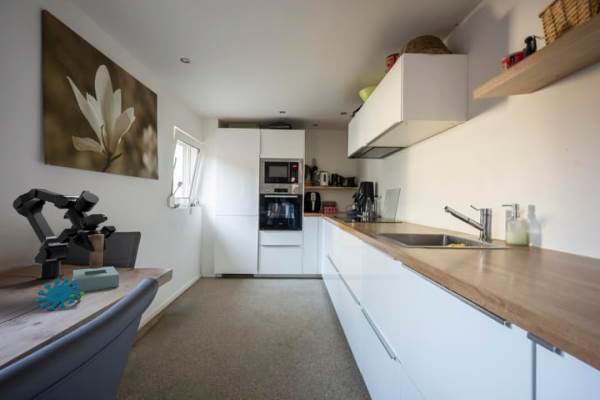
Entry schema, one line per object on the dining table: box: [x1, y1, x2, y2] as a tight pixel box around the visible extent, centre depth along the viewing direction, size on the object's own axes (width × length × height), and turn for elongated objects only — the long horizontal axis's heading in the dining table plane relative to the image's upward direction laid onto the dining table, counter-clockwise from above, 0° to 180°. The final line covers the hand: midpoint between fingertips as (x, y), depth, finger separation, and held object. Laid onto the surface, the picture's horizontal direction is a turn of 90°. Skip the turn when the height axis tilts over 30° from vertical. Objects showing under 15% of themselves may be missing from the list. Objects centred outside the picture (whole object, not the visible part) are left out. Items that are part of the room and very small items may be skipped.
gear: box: [36, 277, 86, 311], centre depth 83 cm, size 11×6×10 cm
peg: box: [88, 234, 104, 269], centre depth 104 cm, size 4×4×12 cm
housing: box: [71, 265, 120, 293], centre depth 104 cm, size 16×13×4 cm
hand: (99, 250), depth 104 cm, fingers closed on peg, 4 cm apart
